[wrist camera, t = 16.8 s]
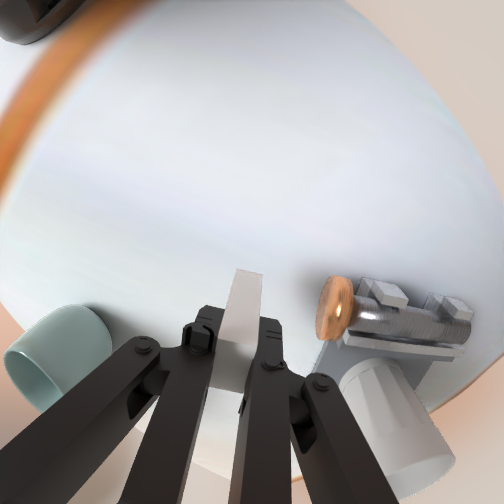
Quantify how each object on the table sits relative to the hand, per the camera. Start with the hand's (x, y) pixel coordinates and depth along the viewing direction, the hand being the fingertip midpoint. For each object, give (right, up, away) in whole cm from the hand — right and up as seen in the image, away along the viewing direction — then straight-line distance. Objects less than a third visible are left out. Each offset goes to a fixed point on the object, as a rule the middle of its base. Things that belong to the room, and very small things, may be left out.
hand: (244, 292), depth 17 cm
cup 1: (-16, -5, +9) cm, 19 cm away
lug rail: (+14, -2, +5) cm, 15 cm away
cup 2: (+12, -10, +7) cm, 17 cm away
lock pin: (+12, -2, +4) cm, 13 cm away
